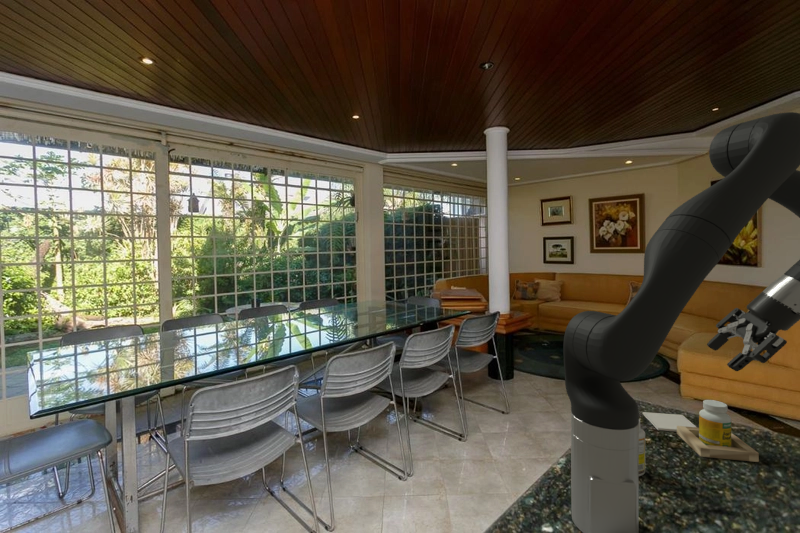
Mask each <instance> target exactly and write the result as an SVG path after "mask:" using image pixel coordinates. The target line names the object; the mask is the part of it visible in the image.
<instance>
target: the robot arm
mask: <svg viewBox="0 0 800 533" xmlns="http://www.w3.org/2000/svg"><path fill="white" fill-rule="evenodd" d="M708 152H709V155H708V157H709V161H710V163H711V165H712V167H713V169H714V171H716V172H717V173H718V174H720V176H722V177H723V178H722V179H720V180H719V181H717V182H716V183H714V184H712V185H711V186H709V187H708V188H706V189H704V190H702V191H701V192H699V193H698V194H696V195H694V196H692V197H691V198H690V199H687V200H686V201H684V203H682V204H680V205H679V206H678V207H676V208H675V209H674V210H673V211H672V212H670V213H669V215H668V216H667V217H666V219H665V220H664V221H663V222H662V223H661V225H660V226H659V227H658V229H656V230H655V232H654V234H653V235H652V237H650V239H649V241H648V243H647V245H646V247H645V250H644V256H643V278H642V283H641V285H640V286H639V289H638V290H637V292H636V293H635V295H634V296H633V298H631V301H629V303H628V304H627V305H626V307H625V308H623V309H622V311H620V313H618V314H617V315H615V314H611V313H606V312H601V311H595V310H584V311H582V312H579V313H577V314H576V315H574V316H573V317H572V318H571V319H570V320H569V322H568V324H567V325H566V329H565V332H564V336H563V348H562V350H563V366H564V367H563V368H564V370H563V371H564V384H565V390H566V391H565V392H566V394H567V396H568V399H569V402H570V410H571V411H570V465H571V466H570V479H571V481H570V485H571V486H570V492H571V493H570V494H571V495H570V496H571V498H570V501H571V502H570V503H571V519H572V520H571V521H572V522H573V523H574V526H576V528H577V529H578V530H579V531H580V532H581V533H640V532H639V526H640V525H639V520H640V519H639V498H640V497H639V494H640V493H639V492H640V491H639V489H640V488H639V487H640V486H639V484H640V483H639V477H640V476H639V419H640V411H639V406H638V403H637V401H636V400H635V399H634V398H633V397H632V395H630V394H629V393H628V392H627V390H626V389H625V387H623V384H622V383H621V382H628V381H632V380H634V379H636V378H638V377H639V376H640V375H642V373H644V371H646V370H647V369H648V367H649V366H650V365H651V363H652V361H654V358H655V357H656V356H657V354H658V352H659V351H660V349H661V347H662V345H663V344H664V343H665V340H666V339H667V337H668V335H669V334H670V331H671V329H672V328H673V326H674V324H675V323H676V321H677V320H678V318H679V316H680V315H681V313H682V312H683V310H684V308H685V307H686V306H687V304H688V303H689V301H691V299H692V297H693V296H694V294H695V293H696V292H697V290H698V289H699V288H700V286H701V284H702V283H703V282H704V280H705V279H706V278H707V276H708V275H709V274H710V273H711V272H712V270H713V269H715V267H716V266H717V265H718V263H719V262H720V261H721V259H722V258H723V257H724V255H725V254H726V253H727V251H728V250H729V248H730V247H731V246H732V244H733V243H734V241H735V240H736V238H737V237H738V236H739V234H740V233H741V232H742V230H743V229H744V228H745V227H746V226H747V224H748V223H749V221H751V219H752V218H753V217H754V215H755V214H757V212H758V211H759V210H760V209H761V207H762V206H763V205H764V203H765V202H767V200H768V199H769V200H771V201H774V203H777V204H778V205H781V206H782V207H783V208H786V209H787V210H789V211H790V212H791V213H793V214H794V215H796V216H797V217H798V218H799V219H800V170H797V169H798V168H799V167H800V113H798V112H796V111H795V112H793V111H789V112H782V113H781V112H780V113H773V114H769V115H767V116H766V115H765V116H763V117H759V118H755V119H751V120H747V121H744V122H743V121H742V122H740V123H736V124H733V125H731V126H728V127H726V128H724V129H722V130H720V131H719V132H718V133H716V135H714V137H713V139H712V141H711V142H710V145H709V150H708ZM746 309H747V310H748V311H747V312H745V311H744V310H742V309H740V308H738V307H735V308H734V309H732V310H731V311H730V312H729V313H728V314H727V315H726V316H724V317H723V318H722V319H721V320H720V321H718V322H717V323H716V325H715V327H716V328H718V330H717V333H716V334H715V335H714V336H713V337H712V338H711V339H709V341H708V342H707V344H706V346H707V347H708V348H710V349H712V350H713V351H716V352H717V351H718V350H719V349H721V347H723V346H724V345H725V344H726V343H727V342H728V341H729V339H731V338H732V339H733V338H735V337H739V338H742V339H743V341H742V343H743V345H744V346H743V348H742V352H739V353H738V354H737V355H735V356H734V357H733V358H732V359H731V360H729V362H727V363H726V365H727V367H729V369H732V371H734V372H740V371H741V370H743V369H744V368H745V367H746V366H748V365H749V364H750V363H751V362H753V361H756V362H760V363H762V364H765V363H767V362H768V361H769V360H770V359H771V358H772V357H774V356H775V355H776V353H778V352H779V351H780V350H781V349H783V347H785V346H786V344H788V343H787V342H788V341H787V340H786V339H784V338H783V337H781V336H780V335H778V334H777V333H778V332H779V331H788V330H790V329H791V328H792V327H793V326H794V325H795V324H796V323H798V322H800V259H799V260H797V262H795V263H794V264H793V265H792V266H791V267H790V268H788V269H787V271H785V272H784V273H783V274H782V275H780V276H779V277H778V278H777V279H775V280H774V281H772V282H771V283H770V284H769V285H768V286H767V287H766V288H764V290H763V291H761V292H760V293H759V294H758V295H757V296H756V297H754V298H753V300H751V302H749V303H748V304H747V305H746ZM764 351H766V352H764ZM763 352H764V353H763ZM762 353H763V354H762Z"/></svg>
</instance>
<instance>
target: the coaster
mask: <svg viewBox="0 0 800 533" xmlns="http://www.w3.org/2000/svg"><path fill="white" fill-rule="evenodd" d="M642 415H643V416H644V417H645V418H646V419H647V421H648V422H649V423H651V425H653V427H655V429H656V430H657V431H664V432H665V431H667V432H675V433H677V426H685V427H697V426H696V425H695V424H694V423H692V422H691V421H690V420H689V419H688V418H687V417H685V416H684V415H683V414H676V413H659V412H645V411H643V412H642Z"/></svg>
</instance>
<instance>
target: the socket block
mask: <svg viewBox="0 0 800 533" xmlns="http://www.w3.org/2000/svg"><path fill="white" fill-rule="evenodd" d="M676 435H678V436H679V437H680V438H681V439H682V441H684V442H685V443H686V444H687V445H688V446H689V447H690V448H691V449H692V450H693V451H694V452H695V453H696V454H697V455H698V456H699V457H702V458H703V457H704V458H712V459H713V458H714V459H722V460H723V459H725V460H734V461H744V462H746V461H747V462H753V463H754V462H755V463H759V462H760V459H759V456H760V453H759V452H758V451H756V449H754V448H753V447H751V446H750V445H748V444H747V443H746V442H744V441H743V440H742V439H740V438H739V437H738V436H736V435H735V434H733V432H731V447H724V446H713V445H705V444H704V443H703V442H702V441H701V440H699V426H696V427H685V426H677V432H676Z"/></svg>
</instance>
